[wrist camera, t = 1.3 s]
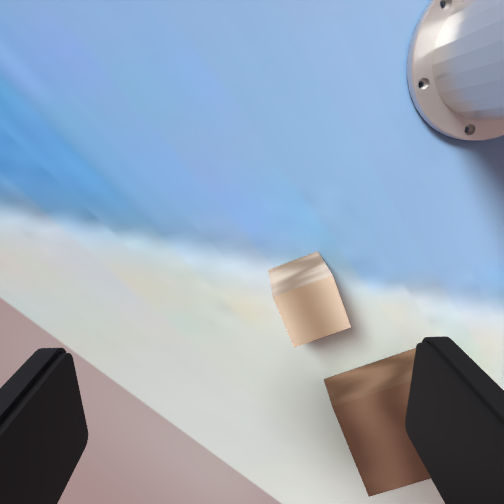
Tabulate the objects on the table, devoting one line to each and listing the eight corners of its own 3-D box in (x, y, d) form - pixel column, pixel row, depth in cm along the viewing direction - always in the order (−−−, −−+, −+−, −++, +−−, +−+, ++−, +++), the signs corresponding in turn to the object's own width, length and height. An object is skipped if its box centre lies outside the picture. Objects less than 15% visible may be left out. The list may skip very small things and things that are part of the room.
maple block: (317, 251, 33) (332, 275, 28) (333, 295, 35) (351, 327, 29) (268, 269, 34) (273, 297, 28) (286, 312, 35) (294, 347, 30)
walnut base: (442, 338, 37) (465, 362, 33) (466, 430, 40) (489, 460, 37) (323, 379, 38) (332, 406, 34) (357, 463, 42) (368, 496, 38)
